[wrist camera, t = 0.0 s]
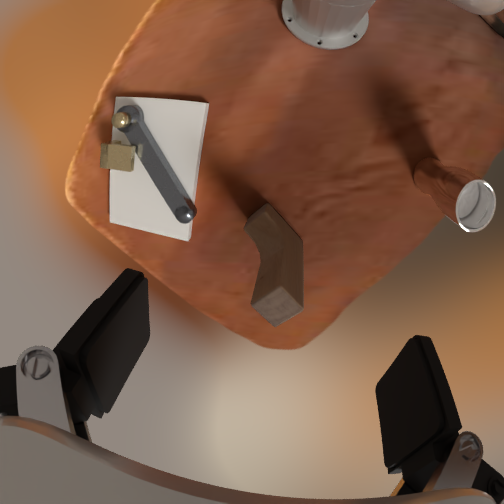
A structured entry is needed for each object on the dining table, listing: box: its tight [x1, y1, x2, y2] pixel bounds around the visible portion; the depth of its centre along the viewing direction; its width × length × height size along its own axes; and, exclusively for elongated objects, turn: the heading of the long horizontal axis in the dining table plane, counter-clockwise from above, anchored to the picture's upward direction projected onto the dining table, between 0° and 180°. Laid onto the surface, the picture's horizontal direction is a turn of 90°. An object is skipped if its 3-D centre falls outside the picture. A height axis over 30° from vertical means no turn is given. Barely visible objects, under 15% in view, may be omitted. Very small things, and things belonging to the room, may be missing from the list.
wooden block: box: [244, 203, 304, 327], centre depth 40 cm, size 9×4×18 cm, turn 43°
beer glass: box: [414, 158, 496, 232], centre depth 32 cm, size 7×7×15 cm
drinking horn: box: [480, 14, 504, 38], centre depth 18 cm, size 6×30×10 cm, turn 51°
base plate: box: [110, 97, 209, 241], centre depth 44 cm, size 23×16×2 cm
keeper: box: [100, 112, 136, 172], centre depth 40 cm, size 9×6×5 cm, turn 169°
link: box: [117, 105, 197, 224], centre depth 42 cm, size 22×4×2 cm, turn 29°
